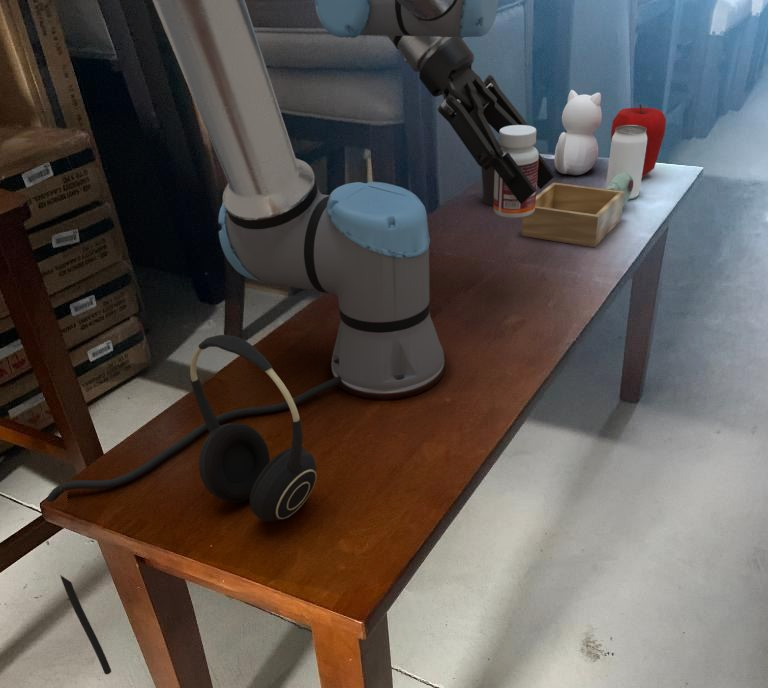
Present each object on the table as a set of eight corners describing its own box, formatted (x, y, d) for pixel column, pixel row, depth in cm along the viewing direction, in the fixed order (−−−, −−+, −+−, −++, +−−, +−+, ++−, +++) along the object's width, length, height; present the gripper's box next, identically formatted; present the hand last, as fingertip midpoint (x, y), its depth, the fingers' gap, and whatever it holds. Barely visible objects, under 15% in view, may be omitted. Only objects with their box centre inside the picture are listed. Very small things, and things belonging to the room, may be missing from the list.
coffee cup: (472, 206, 151) (473, 152, 145) (483, 193, 157) (484, 140, 150) (513, 209, 149) (515, 154, 142) (522, 195, 154) (525, 142, 148)
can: (608, 201, 149) (617, 135, 141) (601, 190, 154) (609, 125, 146) (642, 199, 149) (653, 132, 141) (634, 188, 154) (643, 123, 146)
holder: (594, 247, 133) (598, 216, 129) (521, 235, 138) (523, 205, 135) (620, 221, 141) (625, 191, 138) (550, 211, 147) (553, 182, 144)
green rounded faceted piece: (617, 201, 149) (622, 164, 144) (637, 205, 147) (643, 168, 142) (598, 214, 144) (602, 177, 140) (618, 218, 142) (624, 180, 138)
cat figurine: (605, 166, 165) (615, 88, 155) (577, 183, 158) (586, 103, 148) (567, 161, 169) (574, 84, 160) (539, 177, 162) (544, 98, 152)
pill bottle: (543, 212, 114) (550, 129, 107) (512, 222, 111) (517, 138, 104) (515, 201, 118) (519, 121, 111) (484, 211, 115) (486, 130, 108)
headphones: (288, 551, 78) (255, 380, 65) (190, 501, 86) (143, 338, 73) (341, 506, 83) (321, 338, 70) (244, 462, 91) (209, 303, 78)
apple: (628, 187, 154) (638, 113, 146) (595, 174, 161) (603, 103, 153) (668, 176, 158) (681, 103, 149) (634, 164, 165) (644, 94, 156)
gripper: (452, 61, 116) (545, 186, 120) (386, 90, 104) (492, 228, 108) (485, 21, 111) (582, 153, 114) (419, 46, 98) (529, 194, 102)
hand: (538, 189), depth 111 cm, fingers closed on pill bottle, 6 cm apart
